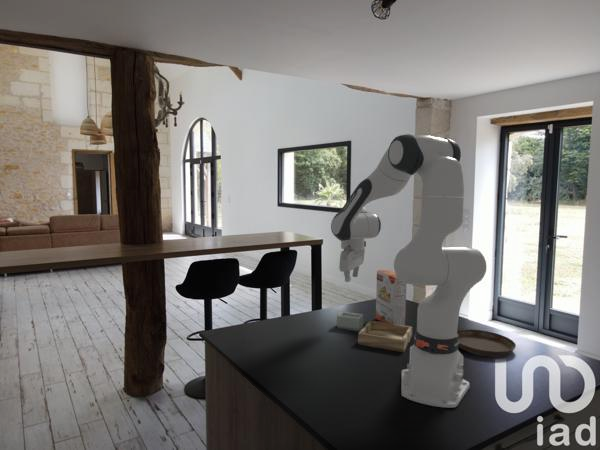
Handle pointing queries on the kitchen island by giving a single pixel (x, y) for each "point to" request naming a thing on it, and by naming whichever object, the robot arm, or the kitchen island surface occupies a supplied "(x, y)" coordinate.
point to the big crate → (385, 336)
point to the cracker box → (390, 298)
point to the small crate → (350, 321)
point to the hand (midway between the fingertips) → (351, 279)
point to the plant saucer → (485, 343)
